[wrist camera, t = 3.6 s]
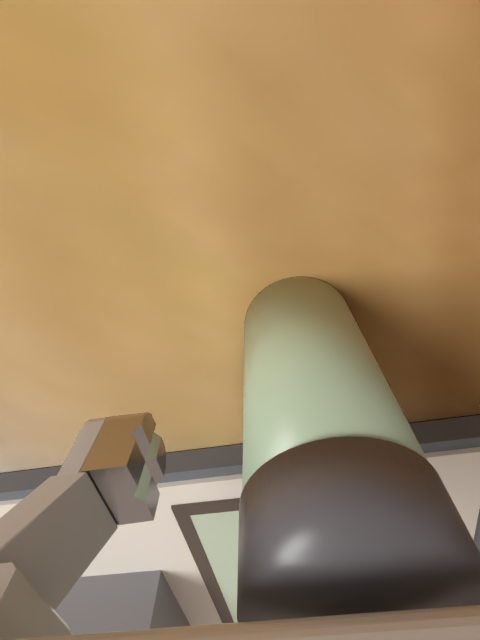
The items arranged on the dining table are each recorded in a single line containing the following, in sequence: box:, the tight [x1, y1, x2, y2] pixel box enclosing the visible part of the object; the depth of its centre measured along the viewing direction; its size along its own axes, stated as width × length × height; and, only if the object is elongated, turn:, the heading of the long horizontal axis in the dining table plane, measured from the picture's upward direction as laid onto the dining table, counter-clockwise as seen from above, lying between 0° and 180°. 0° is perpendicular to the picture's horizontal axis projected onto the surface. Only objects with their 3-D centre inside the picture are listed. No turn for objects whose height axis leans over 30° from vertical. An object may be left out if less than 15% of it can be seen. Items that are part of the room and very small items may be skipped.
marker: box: [237, 277, 480, 622], centre depth 9 cm, size 4×4×8 cm
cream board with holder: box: [0, 415, 480, 635], centre depth 18 cm, size 21×18×4 cm
